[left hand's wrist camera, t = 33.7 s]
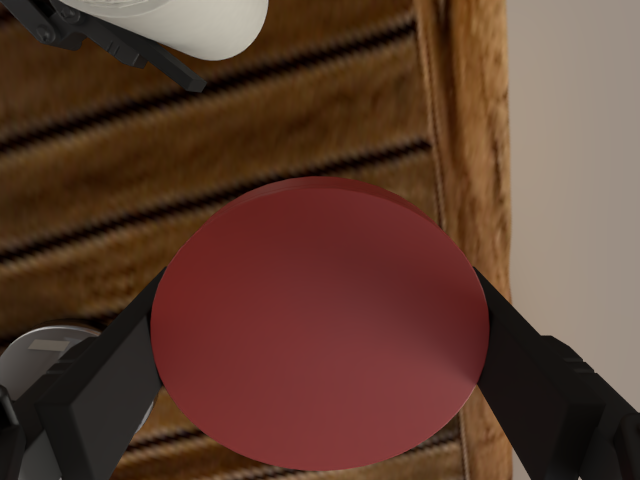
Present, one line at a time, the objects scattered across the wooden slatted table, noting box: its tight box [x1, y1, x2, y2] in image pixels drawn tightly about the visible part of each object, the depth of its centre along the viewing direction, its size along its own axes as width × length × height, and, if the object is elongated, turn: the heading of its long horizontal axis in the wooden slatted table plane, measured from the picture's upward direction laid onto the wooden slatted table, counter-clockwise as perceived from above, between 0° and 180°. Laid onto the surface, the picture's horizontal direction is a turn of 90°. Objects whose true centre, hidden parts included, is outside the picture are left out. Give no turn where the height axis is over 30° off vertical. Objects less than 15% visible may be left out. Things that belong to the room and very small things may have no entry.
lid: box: [150, 176, 490, 471], centre depth 11 cm, size 10×10×2 cm
